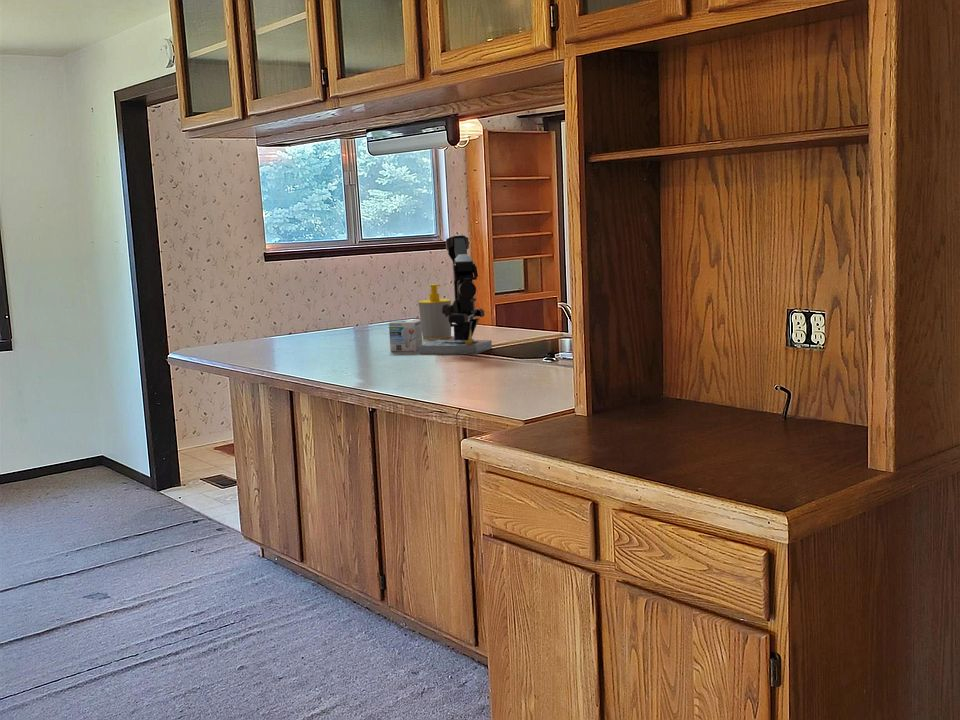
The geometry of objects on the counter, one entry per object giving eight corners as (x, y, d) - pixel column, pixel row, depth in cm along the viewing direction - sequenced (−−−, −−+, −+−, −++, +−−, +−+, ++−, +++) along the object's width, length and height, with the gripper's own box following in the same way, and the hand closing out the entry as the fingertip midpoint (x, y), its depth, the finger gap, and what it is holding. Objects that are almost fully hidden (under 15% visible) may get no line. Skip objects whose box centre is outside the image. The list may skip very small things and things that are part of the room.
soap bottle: (459, 335, 383) (456, 283, 380) (438, 339, 373) (435, 286, 370) (435, 334, 392) (432, 282, 388) (414, 338, 382) (410, 285, 378)
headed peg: (465, 349, 341) (464, 323, 339) (476, 349, 339) (475, 323, 338) (461, 351, 337) (459, 325, 336) (471, 351, 335) (470, 325, 334)
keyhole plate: (437, 347, 351) (436, 339, 350) (491, 348, 342) (491, 340, 342) (420, 353, 338) (419, 345, 338) (476, 354, 329) (476, 345, 329)
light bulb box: (389, 351, 349) (387, 322, 347) (396, 348, 355) (394, 320, 353) (417, 351, 345) (415, 321, 344) (423, 348, 352) (421, 319, 350)
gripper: (455, 293, 347) (458, 335, 349) (433, 299, 330) (436, 343, 332) (483, 293, 342) (486, 336, 345) (462, 298, 325) (465, 343, 328)
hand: (468, 339), depth 338 cm, fingers closed on headed peg, 2 cm apart
